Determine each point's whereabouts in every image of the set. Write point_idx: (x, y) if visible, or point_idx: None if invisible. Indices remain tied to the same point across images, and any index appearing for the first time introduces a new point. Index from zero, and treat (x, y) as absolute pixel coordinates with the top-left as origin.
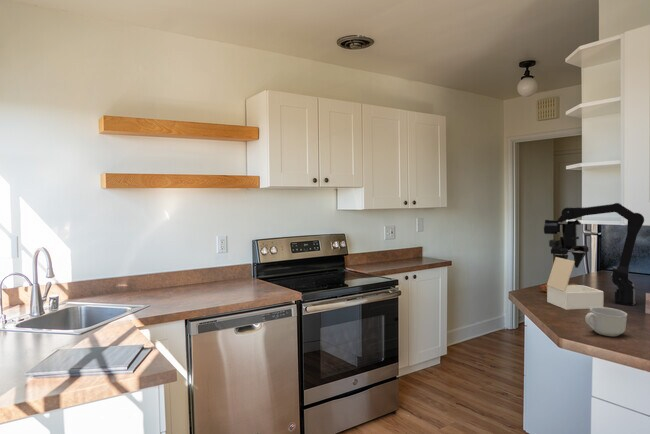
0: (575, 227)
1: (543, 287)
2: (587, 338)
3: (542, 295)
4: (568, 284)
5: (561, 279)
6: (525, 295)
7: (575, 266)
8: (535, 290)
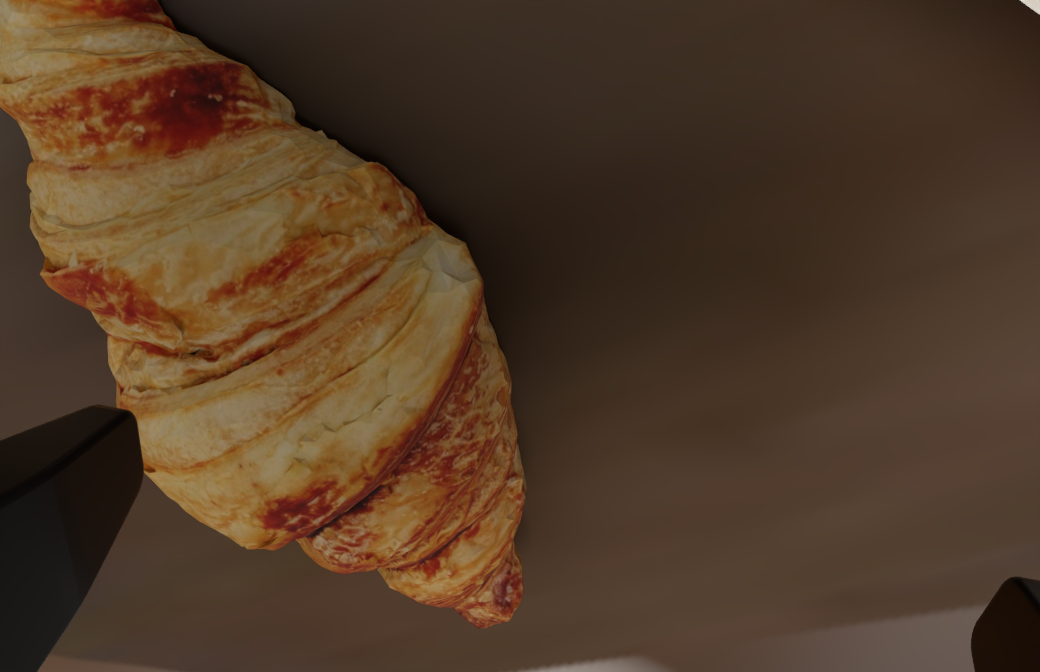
0: None
1: (506, 572)
2: None
3: (763, 444)
4: (263, 330)
5: None
6: (952, 583)
7: (123, 502)
8: None
